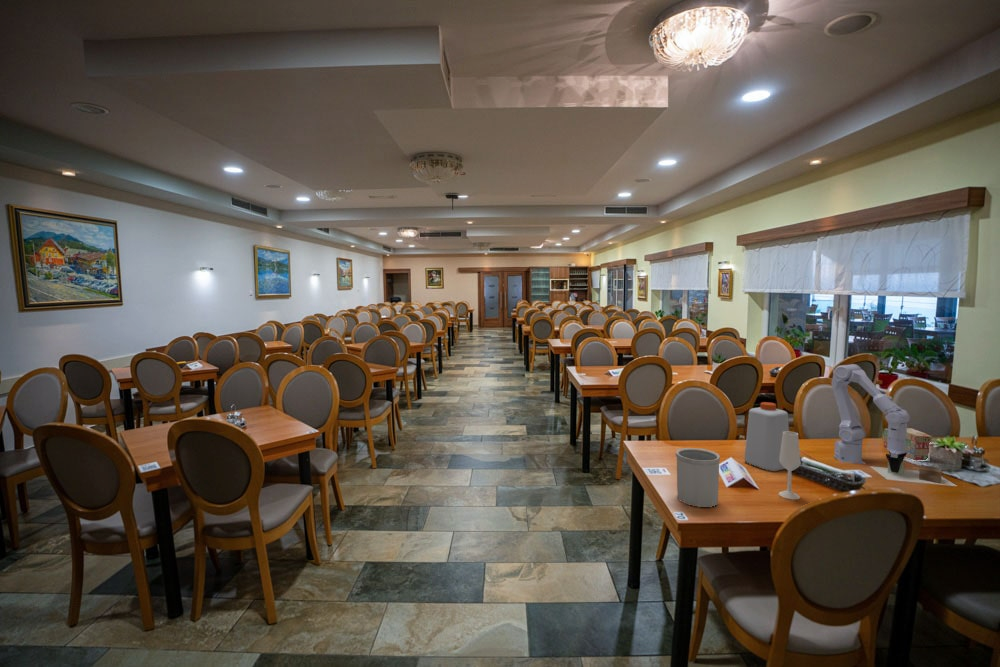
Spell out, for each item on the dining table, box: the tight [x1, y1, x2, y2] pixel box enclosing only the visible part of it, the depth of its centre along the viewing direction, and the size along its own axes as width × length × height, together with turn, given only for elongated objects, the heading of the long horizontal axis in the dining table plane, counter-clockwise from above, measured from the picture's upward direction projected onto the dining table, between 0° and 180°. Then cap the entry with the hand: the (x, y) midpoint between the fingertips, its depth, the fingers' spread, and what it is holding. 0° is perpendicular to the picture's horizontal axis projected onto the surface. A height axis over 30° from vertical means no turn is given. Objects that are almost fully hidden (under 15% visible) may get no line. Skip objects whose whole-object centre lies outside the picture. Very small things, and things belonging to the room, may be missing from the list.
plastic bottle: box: [744, 401, 790, 472], centre depth 192 cm, size 15×15×28 cm
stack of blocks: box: [883, 427, 933, 460], centre depth 203 cm, size 21×6×12 cm, turn 168°
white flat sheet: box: [869, 466, 958, 487], centre depth 177 cm, size 22×15×1 cm
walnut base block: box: [918, 464, 943, 485], centre depth 173 cm, size 6×6×4 cm
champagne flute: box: [778, 430, 802, 500], centre depth 161 cm, size 7×7×24 cm
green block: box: [887, 460, 905, 475], centre depth 180 cm, size 5×5×5 cm
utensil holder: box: [675, 447, 721, 508], centre depth 159 cm, size 15×15×18 cm
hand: (895, 470), depth 180 cm, fingers open, 5 cm apart
